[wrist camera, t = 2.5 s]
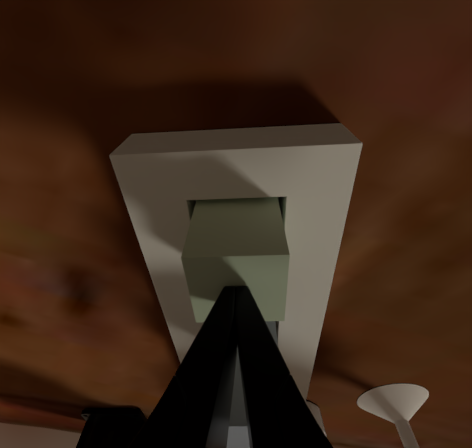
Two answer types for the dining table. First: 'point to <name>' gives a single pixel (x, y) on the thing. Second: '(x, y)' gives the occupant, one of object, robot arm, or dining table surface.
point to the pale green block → (237, 253)
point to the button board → (244, 186)
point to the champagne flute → (396, 406)
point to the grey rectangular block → (241, 405)
